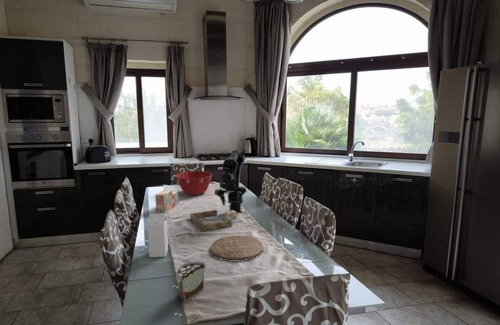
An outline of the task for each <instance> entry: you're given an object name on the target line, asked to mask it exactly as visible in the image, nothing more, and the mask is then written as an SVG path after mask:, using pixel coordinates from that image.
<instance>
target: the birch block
mask: <svg viewBox="0 0 500 325" xmlns="http://www.w3.org/2000/svg"><path fill="white" fill-rule="evenodd" d="M229 210H230V209H229ZM229 210H226V211H225V215H226V218H227V219H228V220H231V219H237V217H238V216H237V213H236V212H235V211H234V210H230V211H229ZM236 216H237V217H236Z"/></svg>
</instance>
